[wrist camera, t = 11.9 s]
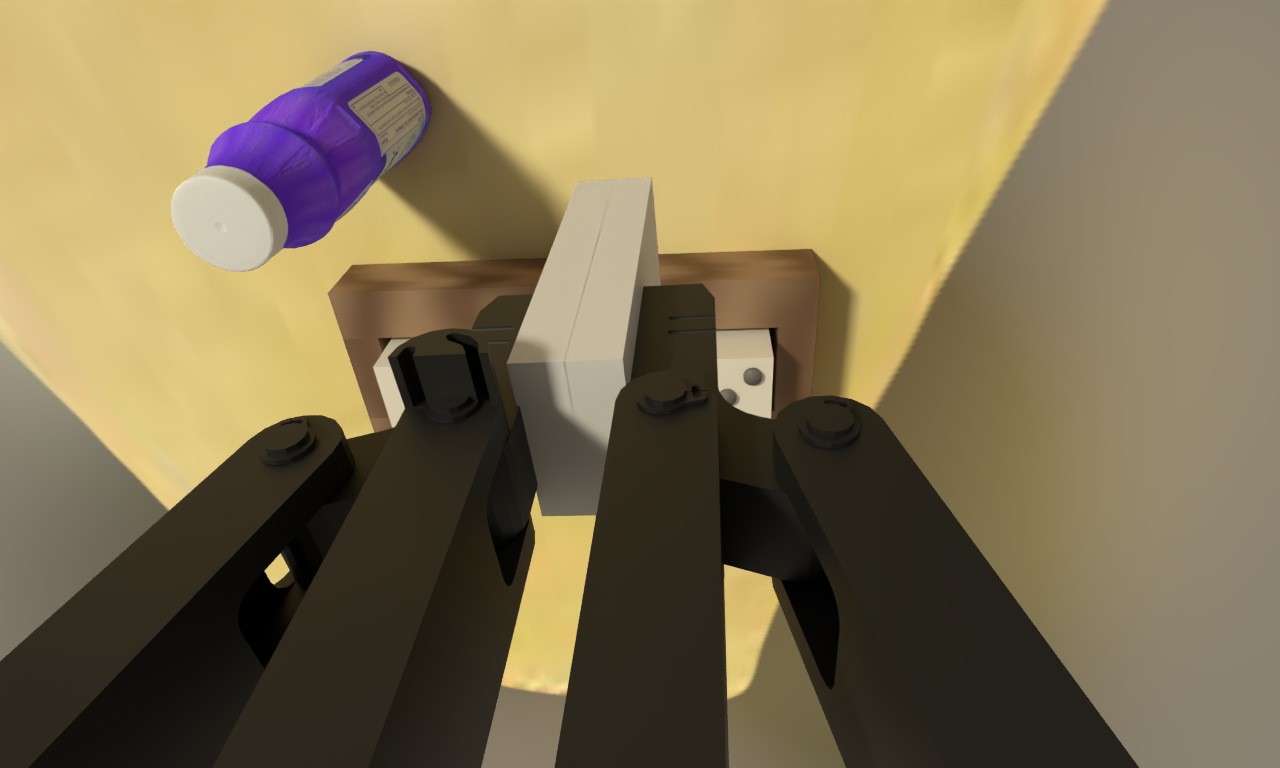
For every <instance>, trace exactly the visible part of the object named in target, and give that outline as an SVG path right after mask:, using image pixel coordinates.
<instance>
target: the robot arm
mask: <svg viewBox="0 0 1280 768" xmlns="http://www.w3.org/2000/svg"><path fill="white" fill-rule="evenodd" d="M388 360H389V363H390V366H391V369H392V372H393V375H394V378H395V381H396V384H397V387H398V389H399V392H400V395H401V398H402V401H403V404H404V407H405V409H404V411H403V413H402V415H401V417H400V419H399V421H398V422H397V424H396V426H395V427H393V428H390V429H387V430H384V431H380V432H375V433H371V434H367V435H363V436H359V437H354V438H350V439H346V437H345V435H344V433H343V430H342V428H341V427H340V426H339V424H338V423H337V422H336V421H335V420H334V419H331V418H328V417H325V416H322V415H311V416H300V417H294V418H289V419H286V420H282V421H280V422H279V423H277V424H274V425H272V426H270V427H268V428H265V429H264V430H262V431H261V432H259V433H258V434H257V435H255V436H254V437H252V438H251V439H249V440H248V441H247V442H246V443H245V444H244V445H243V446H241V447H240V448H239V449H238V450H237V451H236V452H235V453H234V454H232V455H231V456H230V457H229V458H228V459H227V460H226V461H225V462H223V463H222V464H221V465H220V466H219V467H218V468H217V469H216V470H215V471H213V472H212V473H211V474H210V475H209V476H208V477H207V478H206V479H204V480H203V481H202V482H201V483H200V484H199V485H198V486H197V487H195V488H194V489H193V490H192V491H191V492H190V493H189V494H188V495H186V496H185V497H184V498H183V499H182V500H181V501H180V502H179V503H177V504H176V505H175V506H174V507H173V508H172V509H171V510H170V511H169V512H167V513H166V514H165V515H164V516H163V517H162V518H161V519H160V520H159V521H157V522H156V523H155V524H154V525H153V526H152V527H151V528H149V529H148V530H147V531H146V532H145V533H144V534H143V535H142V536H140V537H139V538H138V539H137V540H136V541H135V542H134V543H133V544H131V545H130V546H129V547H128V548H127V549H126V550H125V551H124V552H122V553H121V554H120V555H119V556H118V557H117V558H116V559H115V560H113V561H112V562H111V563H110V564H109V565H108V566H107V567H106V568H104V569H103V570H102V571H101V572H100V573H99V574H98V575H97V576H96V577H94V578H93V579H92V580H91V581H90V582H89V583H88V584H86V585H85V586H84V587H83V588H82V589H81V590H80V591H79V592H77V593H76V594H75V595H74V596H73V597H72V598H71V599H70V600H68V602H66V603H65V604H64V605H63V606H62V607H61V608H60V609H59V610H57V611H56V612H55V613H54V614H53V615H52V616H51V617H49V618H48V619H47V620H46V621H45V622H44V623H43V624H42V625H41V626H39V627H38V628H37V629H36V630H35V631H34V632H33V633H31V634H30V635H29V636H28V637H27V638H26V639H25V640H24V641H23V642H21V643H20V644H19V645H18V646H17V647H16V648H15V649H14V650H12V651H11V652H10V653H9V654H8V655H7V656H6V657H5V658H3V659H2V660H1V661H0V768H481V765H482V761H483V757H484V753H485V749H486V744H487V740H488V736H489V732H490V728H491V724H492V720H493V715H494V711H495V707H496V703H497V699H498V695H499V690H500V686H501V682H502V678H503V674H504V670H505V666H506V661H507V657H508V653H509V649H510V645H511V641H512V637H513V632H514V628H515V624H516V620H517V616H518V612H519V608H520V603H521V599H522V595H523V591H524V587H525V583H526V578H527V574H528V570H529V566H530V562H531V558H532V554H533V549H534V545H535V530H534V526H533V522H532V518H531V514H530V512H531V508H532V504H533V501H534V497H535V493H536V492H537V496H538V500H539V505H540V509H541V513H542V516H577V515H596V521H595V527H594V533H593V539H592V545H591V551H590V557H589V563H588V569H587V575H586V581H585V587H584V593H583V599H582V605H581V611H580V617H579V623H578V629H577V635H576V641H575V647H574V654H573V660H572V666H571V672H570V678H569V684H568V690H567V696H566V703H565V708H564V714H563V720H562V726H561V732H560V738H559V744H558V750H557V756H556V762H555V768H729V757H728V756H729V752H728V719H727V718H728V714H727V676H726V638H725V600H724V564H725V565H729V566H733V567H737V568H740V569H744V570H748V571H751V572H755V573H759V574H763V575H766V576H770V577H772V583H773V588H774V590H775V593H776V595H777V598H778V600H779V603H780V605H781V607H782V610H783V612H784V615H785V617H786V620H787V622H788V625H789V627H790V629H791V632H792V635H793V637H794V640H795V642H796V644H797V647H798V649H799V652H800V654H801V657H802V659H803V662H804V664H805V667H806V669H807V672H808V674H809V677H810V679H811V681H812V684H813V686H814V689H815V692H816V694H817V696H818V699H819V701H820V704H821V706H822V709H823V711H824V714H825V716H826V719H827V721H828V724H829V726H830V729H831V731H832V734H833V736H834V738H835V741H836V744H837V746H838V748H839V751H840V753H841V756H842V758H843V761H844V763H845V766H846V768H1139V767H1138V766H1137V764H1136V763H1135V761H1134V760H1133V759H1132V757H1131V756H1130V755H1129V753H1128V752H1127V751H1126V749H1125V748H1124V747H1123V745H1122V744H1121V742H1120V741H1119V740H1118V738H1117V737H1116V736H1115V734H1114V733H1113V731H1112V730H1111V729H1110V727H1109V726H1108V725H1107V723H1106V722H1105V721H1104V719H1103V718H1102V717H1101V715H1100V714H1099V712H1098V711H1097V710H1096V708H1095V707H1094V706H1093V704H1092V703H1091V702H1090V700H1089V699H1088V697H1087V696H1086V695H1085V694H1084V692H1083V691H1082V689H1081V688H1080V687H1079V685H1078V684H1077V683H1076V681H1075V680H1074V678H1073V677H1072V676H1071V674H1070V673H1069V672H1068V670H1067V669H1066V668H1065V666H1064V665H1063V664H1062V662H1061V661H1060V659H1059V658H1058V657H1057V655H1056V654H1055V653H1054V651H1053V650H1052V649H1051V647H1050V646H1049V644H1048V643H1047V642H1046V640H1045V639H1044V638H1043V636H1042V635H1041V634H1040V632H1039V631H1038V629H1037V628H1036V627H1035V625H1034V624H1033V623H1032V621H1031V620H1030V619H1029V617H1028V616H1027V614H1026V613H1025V612H1024V610H1023V609H1022V608H1021V606H1020V605H1019V604H1018V602H1017V601H1016V599H1015V598H1014V597H1013V595H1012V594H1011V593H1010V591H1009V590H1008V589H1007V587H1006V586H1005V585H1004V583H1003V582H1002V580H1001V579H1000V578H999V576H998V575H997V574H996V572H995V571H994V570H993V568H992V567H991V565H990V564H989V563H988V561H987V560H986V559H985V557H984V556H983V555H982V553H981V552H980V551H979V549H978V548H977V546H976V545H975V544H974V542H973V541H972V540H971V538H970V537H969V536H968V534H967V533H966V532H965V530H964V529H963V527H962V526H961V525H960V523H959V522H958V521H957V519H956V518H955V517H954V515H953V514H952V512H951V511H950V510H949V508H948V507H947V506H946V504H945V503H944V502H943V500H942V499H941V498H940V496H939V495H938V494H937V492H936V491H935V489H934V488H933V487H932V485H931V484H930V483H929V481H928V480H927V479H926V477H925V476H924V474H923V473H922V472H921V470H920V469H919V468H918V466H917V465H916V463H915V462H914V461H913V459H912V458H911V457H910V455H909V454H908V453H907V452H906V450H905V449H904V447H903V446H902V445H901V443H900V442H899V440H898V439H897V438H896V436H895V435H894V433H893V432H892V431H891V429H890V428H889V427H888V425H887V424H886V423H885V421H884V420H883V419H882V418H881V417H880V416H879V415H878V414H877V413H876V412H875V411H873V410H872V409H871V408H870V407H868V406H866V405H864V404H861V403H859V402H857V401H855V400H852V399H848V398H842V397H836V396H814V397H807V398H804V399H801V400H798V401H795V402H792V403H790V404H789V405H788V406H786V407H785V408H784V409H782V410H781V411H780V412H779V413H778V415H777V417H776V419H770V418H765V417H760V416H756V415H753V414H749V413H746V412H744V411H742V410H740V409H738V408H735V407H734V406H732V405H731V404H730V403H729V402H727V401H726V400H725V399H724V397H723V396H722V395H721V393H720V392H719V388H718V367H717V341H716V315H715V297H714V296H713V295H712V294H711V293H710V292H709V291H708V290H707V288H706V287H705V286H704V285H703V284H702V283H700V284H680V285H661V281H660V269H659V257H658V245H657V234H656V222H655V210H654V198H653V186H652V177H641V178H626V179H610V180H595V181H580V182H577V183H576V186H575V189H574V191H573V194H572V196H571V199H570V201H569V204H568V207H567V209H566V212H565V214H564V217H563V220H562V222H561V225H560V227H559V230H558V232H557V235H556V238H555V240H554V243H553V245H552V248H551V250H550V253H549V256H548V258H547V261H546V263H545V266H544V269H543V271H542V274H541V276H540V279H539V281H538V284H537V287H536V289H535V292H534V294H523V295H503V296H498V297H497V298H495V299H494V300H493V301H492V302H490V303H489V304H488V305H487V306H486V307H484V308H483V309H482V310H481V311H480V312H479V314H478V316H477V318H476V320H475V322H474V324H473V326H472V330H469V329H456V328H449V329H442V330H436V331H431V332H428V333H425V334H422V335H419V336H416V337H413V338H411V339H410V340H408V341H406V342H404V343H403V344H401V345H399V346H398V347H397V348H396V349H395V350H394V351H393V352H392V353H391V354H390V355H389V356H388ZM280 553H281V555H282V556H283V558H284V560H285V562H286V564H287V566H288V568H289V570H290V571H289V572H288V573H287V574H286V576H285V577H284V578H282V579H281V580H280V581H278V582H277V583H276V584H272V583H271V582H270V580H269V578H268V577H267V575H266V573H265V569H266V568H267V567H268V566H269V565H270V564H271V563H272V562H273V561H274V559H275V558H276V557H277V556H278V555H279V554H280Z"/></svg>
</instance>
